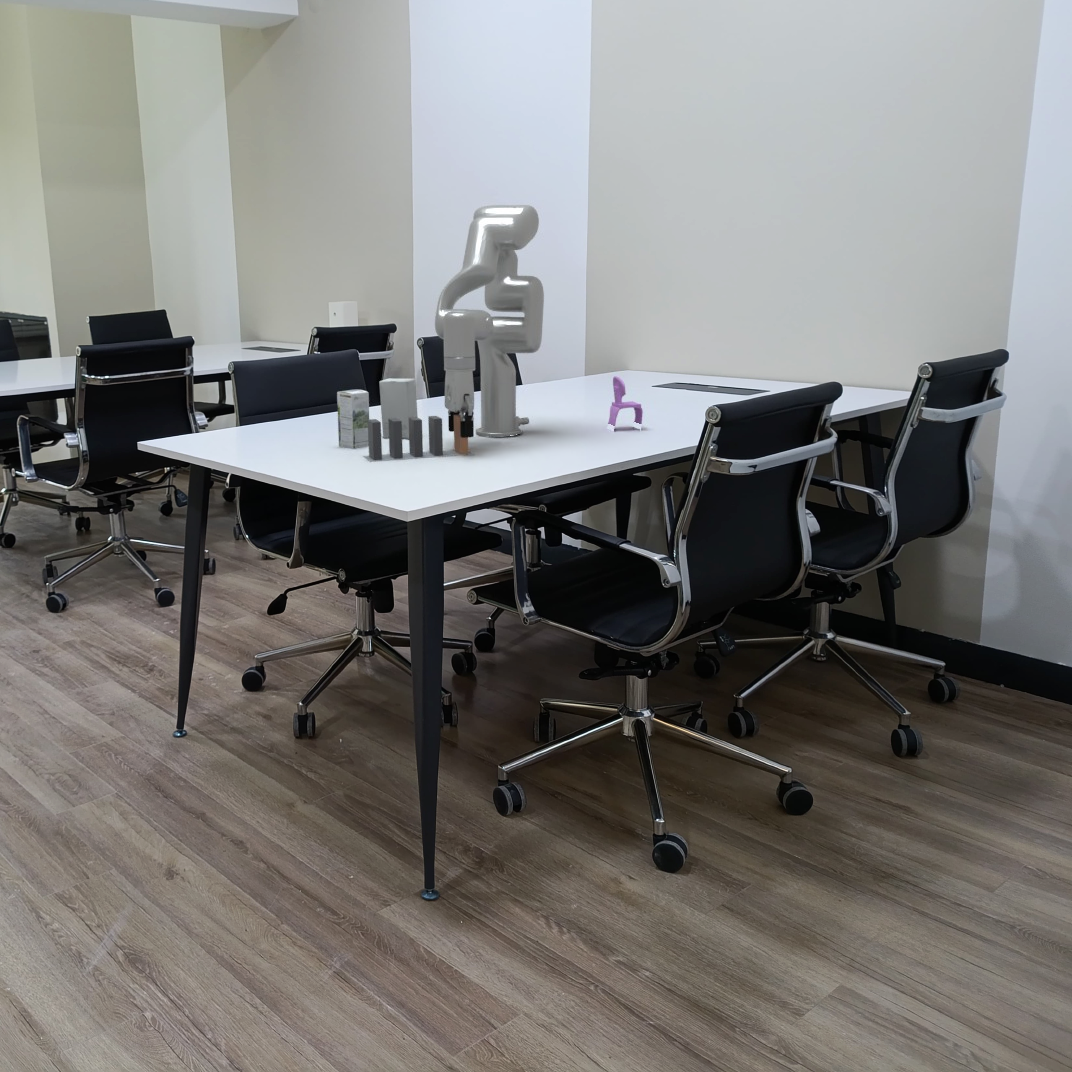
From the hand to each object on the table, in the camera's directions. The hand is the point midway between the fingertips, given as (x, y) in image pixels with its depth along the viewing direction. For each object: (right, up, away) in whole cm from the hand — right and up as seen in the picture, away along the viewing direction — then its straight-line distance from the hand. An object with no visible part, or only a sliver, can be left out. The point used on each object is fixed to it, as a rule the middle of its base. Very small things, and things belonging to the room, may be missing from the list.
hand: (461, 434), depth 258 cm
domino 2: (-15, -6, -5) cm, 17 cm away
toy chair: (+43, +5, +38) cm, 58 cm away
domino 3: (-11, -5, -3) cm, 12 cm away
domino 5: (0, -4, +1) cm, 5 cm away
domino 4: (-6, -5, -1) cm, 8 cm away
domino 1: (-20, -6, -6) cm, 22 cm away
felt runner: (-10, -6, -3) cm, 12 cm away
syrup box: (-28, -3, +10) cm, 30 cm away
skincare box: (-18, +2, +26) cm, 32 cm away
